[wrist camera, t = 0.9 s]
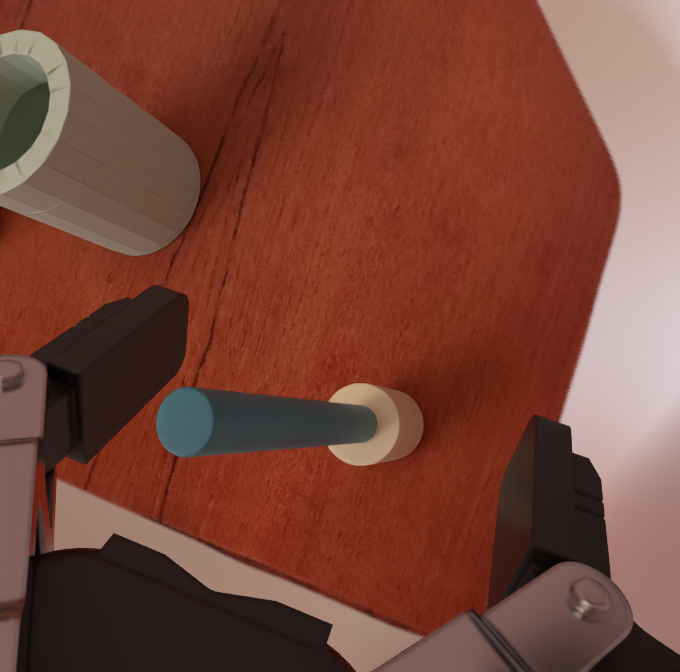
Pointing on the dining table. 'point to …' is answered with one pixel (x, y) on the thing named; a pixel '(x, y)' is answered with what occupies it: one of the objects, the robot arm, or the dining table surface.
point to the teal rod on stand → (292, 423)
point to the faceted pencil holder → (88, 152)
